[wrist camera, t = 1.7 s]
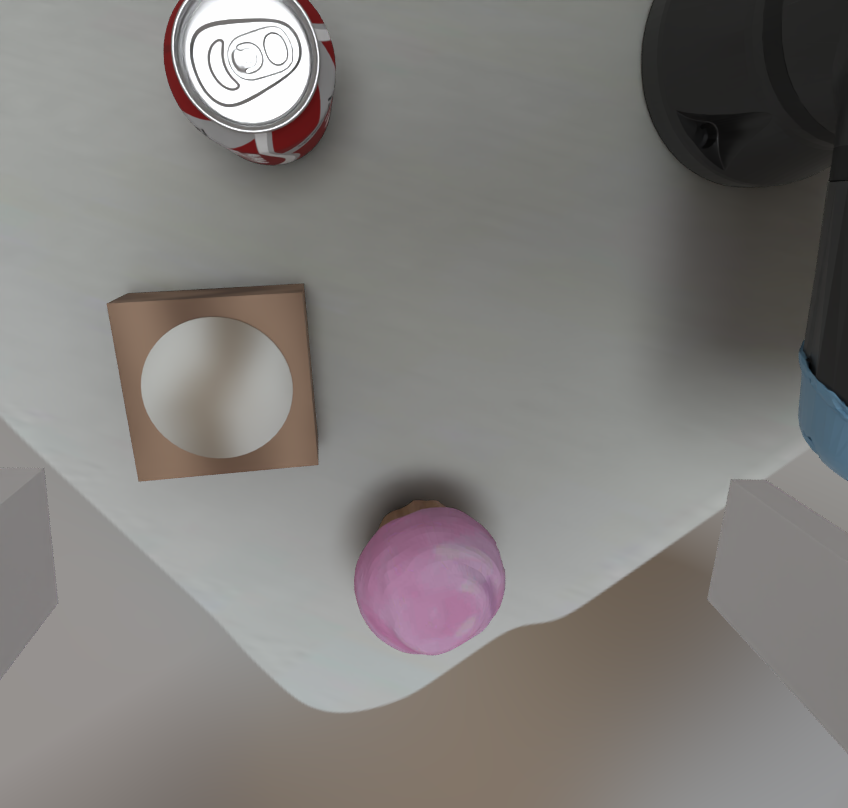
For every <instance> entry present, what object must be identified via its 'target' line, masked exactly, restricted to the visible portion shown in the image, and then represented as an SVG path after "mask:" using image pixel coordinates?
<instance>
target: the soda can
mask: <svg viewBox="0 0 848 808" xmlns="http://www.w3.org/2000/svg"><path fill="white" fill-rule="evenodd" d="M164 65H165V71H166V76H167V79H168V83H169V86H170V89H171V91H172V93H173V96H174V98H175V100H176V102H177V103H178V105H179V107H180V108H181V110H182V111H183V113H184V114H185V116H186V117H187V118H188V119H189V120H190V122H191V123H192V124H193V125H194V126H195V127H196V128H197V129H198V130H199V131H201V132H202V133H203V134H204V135H206V136H207V137H208V138H210V139H211V140H213V141H215V142H216V143H218V144H220V145H221V146H223V147H225V148H227V149H228V150H230V151H232V152H233V153H235V154H237V155H239V156H240V157H242V158H244V159H246V160H248V161H251V162H254V163H258V164H263V165H281V164H286V163H290V162H293V161H295V160H297V159H299V158H301V157H303V156H304V155H306V154H307V153H308V152H310V151H311V150H312V149H313V148H314V147H315V146H316V144H317V143H318V142H319V141H320V139H321V138H322V136H323V134H324V132H325V130H326V127H327V125H328V121H329V118H330V112H331V106H332V99H333V93H334V87H335V77H336V65H335V55H334V50H333V46H332V42H331V39H330V36H329V33H328V31H327V28H326V26H325V24H324V22H323V20H322V19H321V17H320V15H319V14H318V12H317V11H316V9H315V8H314V6H313V5H312V4H311V3H310V2H309V1H308V0H179V2H178V3H177V5H176V6H175V8H174V10H173V12H172V14H171V16H170V19H169V22H168V25H167V29H166V33H165V39H164Z"/></svg>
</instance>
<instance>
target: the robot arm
mask: <svg viewBox="0 0 848 808" xmlns="http://www.w3.org/2000/svg"><path fill="white" fill-rule="evenodd" d="M642 76H643V86H644V92H645V97H646V101H647V105H648V109H649V112H650V115H651V117H652V120H653V122H654V125H655V127H656V129H657V131H658V133H659V135H660V136H661V138H662V140H663V141H664V143H665V144H666V146H667V147H668V148H669V150H670V151H671V152H672V153H673V154H674V156H675V157H676V158H677V159H678V160H679V161H680V162H681V163H683V164H684V165H685V166H686V167H687V168H689V169H690V170H692V171H693V172H695V173H696V174H698V175H700V176H701V177H703V178H706V179H708V180H710V181H713V182H716V183H719V184H723V185H728V186H734V187H764V186H777V185H783V184H787V183H791V182H795V181H798V180H801V179H804V178H807V177H809V176H812V175H814V174H816V173H818V172H820V171H822V170H824V169H826V168H827V167H829V166H831V170H830V178H829V181H830V182H828V185H827V192H826V199H825V207H824V214H823V221H822V228H821V236H820V243H819V250H818V257H817V265H816V272H815V278H814V284H813V290H812V297H811V303H810V309H809V316H808V322H807V328H806V335H805V340H804V341H803V343H802V345H801V348H800V350H799V363H800V367H801V370H802V377H801V389H800V400H799V412H798V419H799V426H800V429H801V432H802V435H803V437H804V439H805V440H806V442H807V443H808V445H809V446H810V447H811V449H812V450H813V451H814V452H815V453H816V454H818V455H819V458H820V459H821V460H822V462H823V463H824V464H826V465H827V466H828V467H829V468H830V469H831V470H833V471H834V472H835V473H837V474H838V475H839V476H841V477H842V478H844V479H845V480H847V481H848V0H654V2H653V5H652V8H651V10H650V14H649V17H648V21H647V25H646V30H645V35H644V42H643V52H642ZM837 181H839V182H837ZM707 600H708V601H709V602H710V603H711V604H712V605H713V606H714V607H715V608H716V610H717V611H718V612H719V613H720V614H721V615H722V616H723V617H724V618H725V619H726V621H727V622H728V623H729V624H730V625H731V626H732V627H733V628H734V629H735V630H736V631H737V633H738V634H739V635H740V636H741V637H742V638H743V639H744V640H745V641H746V643H747V644H748V645H749V646H750V647H751V648H752V649H753V650H754V651H755V652H756V654H757V655H758V656H760V658H761V659H762V660H763V661H764V662H765V663H766V664H767V666H768V667H769V668H770V669H771V670H772V671H773V672H774V673H775V674H776V675H777V677H778V678H779V679H780V680H781V681H782V682H783V683H784V684H785V685H786V686H787V687H788V689H789V690H790V691H791V692H792V693H793V694H794V695H795V696H796V697H797V699H798V700H799V701H800V702H801V703H802V704H803V705H804V706H805V707H806V708H807V709H808V711H809V712H810V713H811V714H812V715H813V716H814V717H815V718H816V719H817V720H818V722H819V723H820V724H821V725H822V726H823V727H824V728H825V729H826V730H827V731H828V732H829V734H830V735H831V736H832V737H833V738H834V739H835V740H836V741H837V742H838V744H839V745H840V746H841V747H842V748H843V749H844V750H845V751H846V752H847V753H848V533H847V532H846V531H844V530H842V529H841V528H839V527H838V526H836V525H834V524H833V523H832V522H830V521H829V520H827V519H826V518H824V517H822V516H821V515H819V514H818V513H816V512H815V511H813V510H812V509H810V508H809V507H807V506H806V505H804V504H803V503H801V502H799V501H798V500H796V499H795V498H793V497H792V496H790V495H789V494H787V493H786V492H784V491H783V490H781V489H780V488H778V487H776V486H775V485H773V484H772V483H770V482H769V481H767V480H738V479H731V482H730V487H729V492H728V497H727V502H726V507H725V512H724V518H723V523H722V528H721V533H720V538H719V543H718V548H717V554H716V558H715V563H714V568H713V573H712V578H711V583H710V588H709V594H708V598H707ZM57 604H58V596H57V586H56V577H55V567H54V557H53V547H52V538H51V528H50V518H49V509H48V499H47V489H46V480H45V471H44V468H4V467H3V468H1V467H0V680H1V678H2V677H3V676H4V674H5V673H6V672H7V670H8V669H9V668H10V666H11V665H12V664H13V662H14V661H15V660H16V658H17V657H18V656H19V654H20V653H21V652H22V650H23V649H24V648H25V646H26V645H27V644H28V642H29V641H30V640H31V638H32V637H33V636H34V635H35V633H36V632H37V631H38V629H39V628H40V627H41V625H42V624H43V622H44V621H45V620H46V618H47V617H48V616H49V615H50V613H51V612H52V611H53V609H54V608H55V607H56V605H57Z"/></svg>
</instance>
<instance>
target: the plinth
mask: <svg viewBox="0 0 848 808" xmlns="http://www.w3.org/2000/svg"><path fill="white" fill-rule="evenodd" d="M107 308H108V314H109V319H110V325H111V330H112V336H113V342H114V347H115V353H116V358H117V364H118V369H119V375H120V380H121V386H122V392H123V397H124V403H125V408H126V414H127V419H128V425H129V431H130V436H131V442H132V447H133V453H134V458H135V464H136V469H137V475H138V481H150V480H161V479H171V478H182V477H193V476H204V475H215V474H225V473H236V472H247V471H258V470H268V469H279V468H290V467H301V466H312V465H318V434H317V423H316V412H315V401H314V390H313V379H312V368H311V357H310V346H309V335H308V324H307V313H306V302H305V291H304V284H287V285H269V286H252V287H234V288H216V289H198V290H181V291H163V292H145V293H127V294H125V295H123V296H121V297H119V298H117V299H115V300H113V301H111V302H109V303H107Z"/></svg>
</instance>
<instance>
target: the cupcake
mask: <svg viewBox="0 0 848 808" xmlns="http://www.w3.org/2000/svg"><path fill="white" fill-rule="evenodd" d="M354 590H355V594H356V599H357V603H358V606H359V609H360V612H361V615H362V616H363V618H364V620H365V622H366V624H367V625H368V626H369V628H370V629H371V631H372V632H373V633H374V634H375V635H376V636H377V637H378V638H379V639H381V640H382V641H384V642H385V643H386V644H388V645H390V646H391V647H393V648H395V649H397V650H400V651H402V652H405V653H410V654H426V655H439V654H442V653H445V652H448V651H450V650H452V649H454V648H456V647H458V646H459V645H461V644H463V643H464V642H466V641H468V640H469V639H471V638H473V637H474V636H476V635H478V634H479V633H480V632H482V631H483V630H484V629H485V628H486V627H487V625H488V624H489V622H490V621H491V619H492V618H493V617H494V615H495V614H496V612H497V611H498V609H499V607H500V605H501V602H502V599H503V595H504V590H505V569H504V567H503V564H502V561H501V558H500V553H499V550H498V548H497V546H496V542H495V540H494V539H493V537H492V536H491V535H490V533H489V532H488V531H487V530H486V529H485V528H484V527H483V526H482V525H481V524H479V523H478V522H477V521H475V520H474V519H473V518H471V517H470V516H468V515H467V514H465V513H464V512H462V511H460V510H457V509H455V508H448V507H445V506H444V505H443V504H441V503H440V502H438V501H436V500H428V501H423V500H413V501H412V502H411V503H410V504H408V505H407V506H405V507H403V508H401V509H398V510H395V511H392V512H390V513H389V514H387V515H386V516H385V517H384V518H383V520H382V522H381V524H380V526H379V529H378V531H377V532H376V533H375V535H374V536H373V537H372V538H371V539H370V541H369V542H368V544H367V545H366V547H365V548H364V550H363V551H362V553H361V555H360V557H359V559H358V562H357V565H356V569H355V578H354Z"/></svg>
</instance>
